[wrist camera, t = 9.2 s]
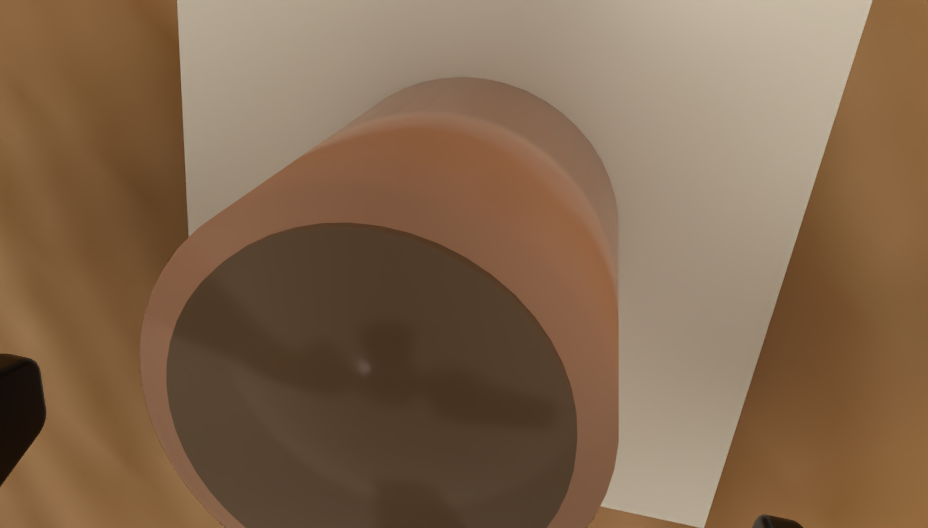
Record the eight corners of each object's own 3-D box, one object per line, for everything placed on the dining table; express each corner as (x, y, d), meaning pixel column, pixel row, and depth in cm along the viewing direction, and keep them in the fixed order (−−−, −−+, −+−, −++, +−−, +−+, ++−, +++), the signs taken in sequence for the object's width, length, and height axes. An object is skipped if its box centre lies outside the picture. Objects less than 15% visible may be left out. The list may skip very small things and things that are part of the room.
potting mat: (207, 408, 20) (197, 419, 20) (184, -140, 15) (170, -142, 14) (701, 514, 18) (703, 528, 18) (881, -59, 13) (891, -58, 13)
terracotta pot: (318, 330, 18) (147, 557, 11) (328, 55, 15) (111, 144, 9) (588, 383, 17) (570, 659, 10) (648, 102, 14) (672, 240, 8)
